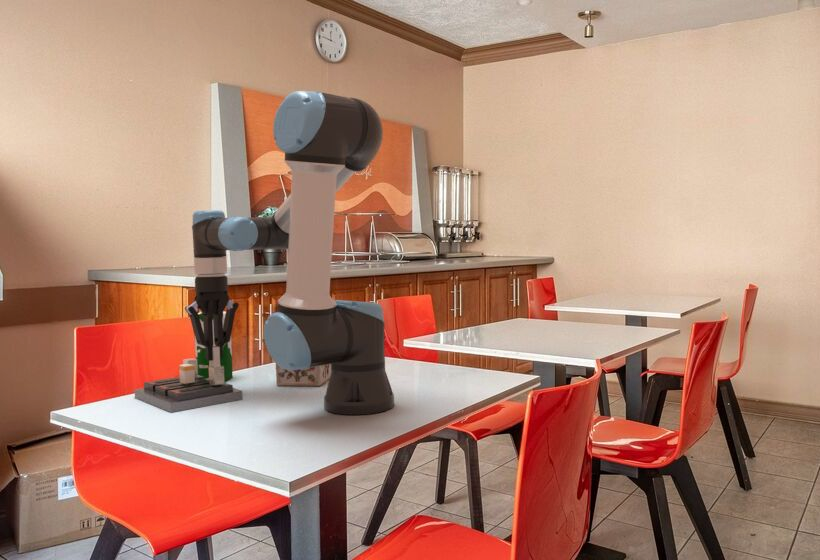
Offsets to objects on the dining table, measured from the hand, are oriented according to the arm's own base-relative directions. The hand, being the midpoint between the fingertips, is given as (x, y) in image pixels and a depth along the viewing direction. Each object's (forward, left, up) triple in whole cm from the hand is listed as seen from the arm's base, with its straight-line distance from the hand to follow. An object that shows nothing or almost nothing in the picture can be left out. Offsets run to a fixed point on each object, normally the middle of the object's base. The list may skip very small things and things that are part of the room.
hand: (215, 373), depth 168 cm
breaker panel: (0, +7, -5) cm, 9 cm away
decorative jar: (-5, -23, -5) cm, 24 cm away
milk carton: (+15, -8, -5) cm, 18 cm away
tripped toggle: (0, +7, -1) cm, 7 cm away
